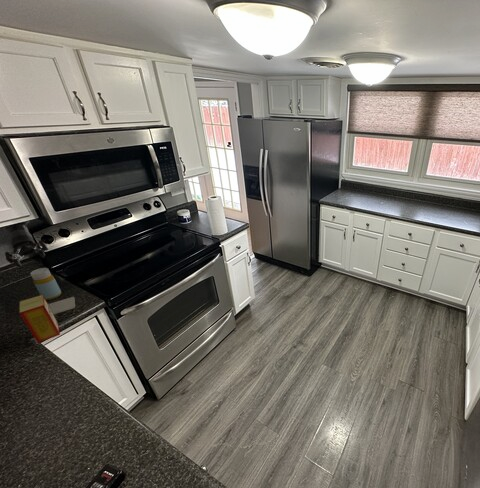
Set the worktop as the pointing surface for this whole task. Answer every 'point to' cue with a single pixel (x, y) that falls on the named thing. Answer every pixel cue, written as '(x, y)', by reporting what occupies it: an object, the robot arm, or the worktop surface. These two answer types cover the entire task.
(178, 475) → the worktop surface
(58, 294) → the bottle
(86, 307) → the worktop surface
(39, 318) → the baking soda box
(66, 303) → the mat
